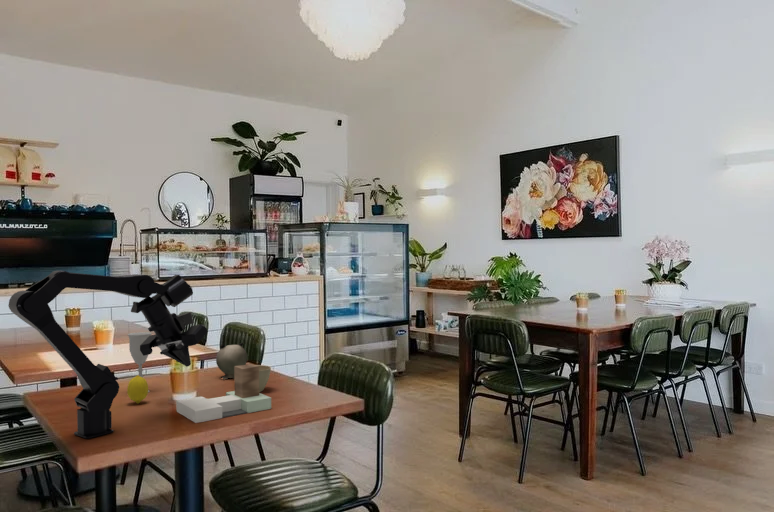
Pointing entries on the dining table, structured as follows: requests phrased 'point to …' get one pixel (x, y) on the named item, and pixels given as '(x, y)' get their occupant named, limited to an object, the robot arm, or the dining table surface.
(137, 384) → the lemon
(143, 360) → the chalice
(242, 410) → the board
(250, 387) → the walnut block
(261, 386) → the flower pot
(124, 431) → the dining table surface
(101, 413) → the robot arm
